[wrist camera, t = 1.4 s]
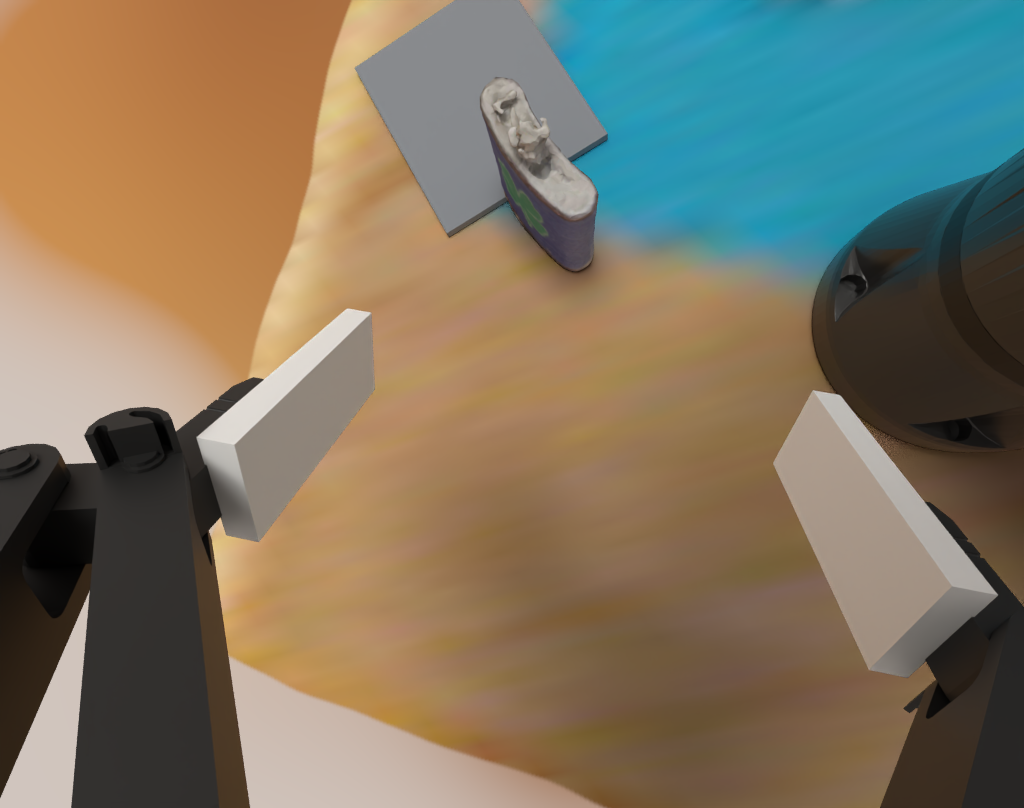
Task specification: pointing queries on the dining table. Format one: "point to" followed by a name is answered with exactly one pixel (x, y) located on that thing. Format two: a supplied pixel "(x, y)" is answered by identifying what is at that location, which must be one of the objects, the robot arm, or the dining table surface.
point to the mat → (470, 100)
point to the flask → (539, 177)
